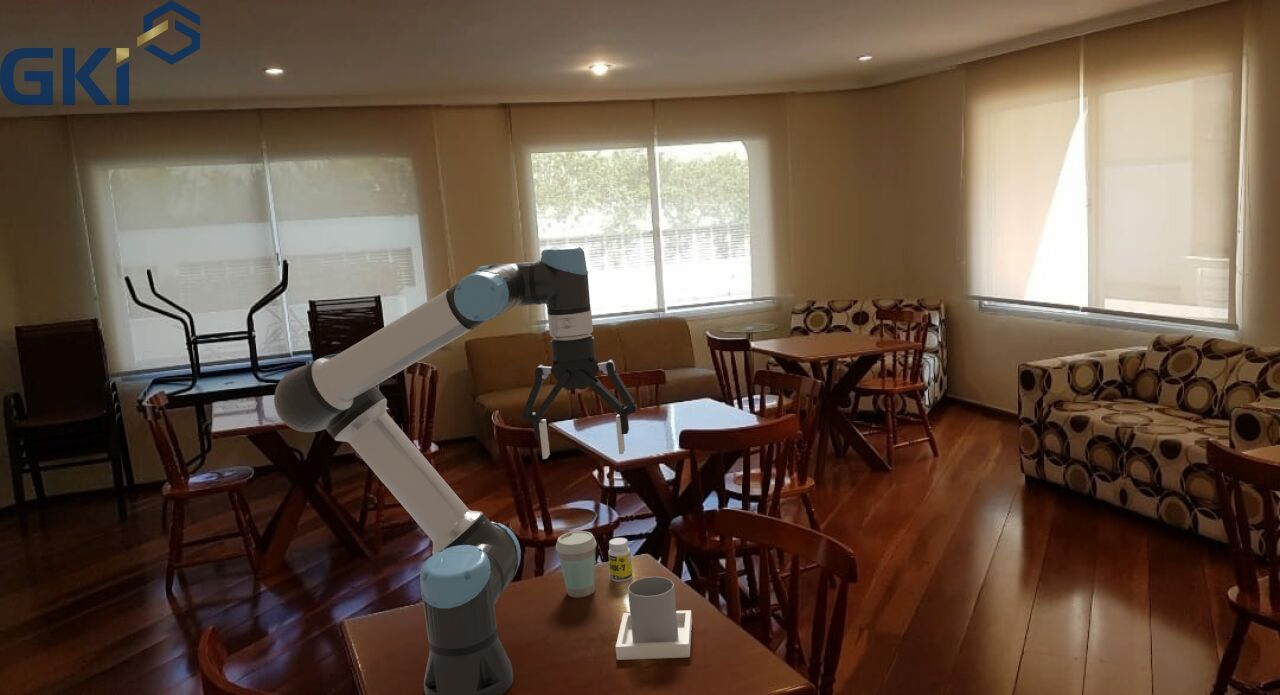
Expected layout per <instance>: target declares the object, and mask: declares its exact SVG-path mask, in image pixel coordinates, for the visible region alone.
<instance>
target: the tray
mask: <svg viewBox="0 0 1280 695" xmlns="http://www.w3.org/2000/svg"><path fill="white" fill-rule="evenodd" d="M676 615H677V626H678V638H677V640H676V641H675V642H657V643H634V641H633V638H632V627H631V617H630V612H623V613H622V618H621V622H620V625H619V631H618V635H617V638H616V640H617V641H616V643H615V652H616V660H617V661H619V660H620V661H623V660H649V659H650V660H651V659H652V660H653V659H676V658H677V659H679V658H690V657H691V645H692V632H691V631H692V629H693V617H692V610H691V609H688V610H687V609H685V610H676Z"/></svg>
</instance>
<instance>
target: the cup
mask: <svg viewBox="0 0 1280 695" xmlns="http://www.w3.org/2000/svg"><path fill="white" fill-rule="evenodd" d="M627 594H628V596H627V597H628V603H629V613H630V617H631V627H632V638H633V641H634V643H657V642H675V641H676V640H677V638H678V626H677V615H676V611H677V606H676V605H677V604H676V595H675V594H676V593H675V583H674V582H673V581H672V580H671V579H668V578H666V577H664V576H662V577H661V576H649V577H646V576H645V577H643V578H640V579H639V578H638V579H635V580H634V581H633V582H631V583H629V585H628V587H627Z"/></svg>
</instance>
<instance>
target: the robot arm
mask: <svg viewBox="0 0 1280 695" xmlns="http://www.w3.org/2000/svg"><path fill="white" fill-rule="evenodd" d="M540 255H541V257H540V260H535V261H526V262H525V261H524V262H512V263H511V262H510V263H508V262H507V263H492V264H488V265H481V266H479V267H477V269H476V270H475V271H473V272H472V273H469V274H467V275H466V276H464V277H463V278H462V279H460V280H459V282H458V283H456V284H454V285H453V286H452V287H450V288H449V289H446V290H445V291H443V292H441V293H439V294H437V295H436V296H435V297H432V298H431V299H430V300H427V301H426V302H424V303H422V304H421V305H419V306H418V307H416V308H413V309H412V310H410V311H409V312H407V313H405V314H404V315H402V316H400V317H399V318H397V319H396V320H394V321H392V322H390V323H389V324H387V325H385V326H384V327H382V328H381V329H378V330H376V331H375V332H373V333H372V334H370V335H369V336H367V337H365V338H363V339H362V340H360V341H358V342H357V343H355V344H353V345H351V346H350V347H349V348H346V349H345V350H343V351H340V353H333V354H328V355H324V356H323V357H321V358H318V359H316V360H314V361H312V362H310V363H307V364H305V365H302V366H299V367H296V368H294V369H292V370H291V371H288V373H286V374H285V375H284V376H283V377H282V378H281V379H280V380H279V382H278V384H277V385H276V388H275V391H274V395H273V397H274V398H273V403H274V409H275V412H276V413H277V416H278V417H279V419H280V420H281V421H282V423H284V424H285V425H286V426H287V427H289V428H291V429H293V430H295V431H297V432H302V433H314V432H321V431H323V430H326V432H328V434H329V435H330V436H331V437H332V439H333V440H335V441H336V442H345V443H346V442H347V443H348V444H349V445H350V446H351V447H352V449H354V451H355V452H356V453H357V454H358V455H359V456H360V458H361V459H362V461H363V462H364V463H365V464H367V466H368V467H369V468H370V469H371V471H372V472H373V473H374V474H375V476H377V478H378V479H379V480H380V481H381V483H382V484H383V485H384V486H385V487H386V489H387V490H389V492H391V494H392V495H393V496H394V497H395V499H396V500H397V501H398V503H400V505H401V506H402V507H403V509H405V510H406V512H407V513H408V514H409V515H410V516H411V517H412V518H413V520H414V521H415V522H416V524H417V525H418V526H419V527H420V528H421V529H422V530H423V531H424V533H425V534H426V535H427V537H428V538H429V539H430V540H431V541H432V555H431V556H430V557H428V558H427V559H426V560H425V562H424V563H423V564H422V567H421V569H420V574H419V578H420V579H419V580H420V581H419V582H420V583H419V584H420V586H419V589H420V590H419V591H420V594H421V597H422V598H421V599H422V606H423V613H424V620H425V626H426V631H427V632H426V633H427V639H428V646H429V654H428V659H427V664H426V668H425V673H424V674H425V675H424V679H423V689H424V695H504V694H505V693H506V692H508V690H509V689H510V688H511V686H512V685H513V682H514V674H513V672H514V671H513V666H512V663H511V660H510V658H509V657H508V654H507V652H506V650H505V649H504V646H503V644H502V642H501V641H500V638H499V634H498V626H497V620H496V619H497V618H496V610H495V607H496V606H495V604H496V603H497V601H498V600H499V599H500V597H501V596H502V594H503V592H504V591H505V589H506V588H507V587H508V585H510V583H511V582H512V581H513V579H514V578H515V576H516V574H517V572H518V569H519V567H520V563H521V556H522V551H521V546H520V543H519V540H518V538H517V537H516V535H515V533H514V532H513V531H512V530H511V529H510V528H509V527H508V526H507V525H505V524H504V523H503V524H502V523H500V522H498V523H497V522H494V521H490V519H489V518H488V517H487V516H486V515H485V513H483V511H478V510H470V509H469V508H468V507H467V505H466V504H465V503H464V501H462V499H460V497H459V496H458V495H457V493H455V491H454V490H453V489H452V488H451V487H450V485H449V484H448V483H447V482H446V481H445V479H444V478H443V477H442V476H441V475H440V473H439V472H438V471H437V470H436V469H435V468H434V466H433V465H432V464H431V463H430V461H428V460H427V458H426V457H425V456H424V455H423V454H422V453H421V451H420V450H419V448H417V446H416V445H415V444H414V443H413V442H412V440H410V438H409V437H408V435H406V433H405V432H404V431H403V430H402V429H401V428H400V427H399V425H398V424H397V423H396V422H395V420H393V419H392V417H391V416H390V414H388V412H387V404H388V400H387V398H386V397H385V396H384V395H383V393H382V392H381V391H380V385H379V384H381V383H383V382H384V381H386V380H387V379H388V380H389V378H391V377H393V376H394V375H396V374H398V373H400V372H401V371H403V370H404V369H405V370H406V368H408V367H411V365H414V364H416V363H417V362H419V361H420V360H422V359H424V358H425V357H427V356H429V355H431V354H432V353H434V352H436V351H437V350H440V349H441V348H443V347H444V346H446V345H448V344H450V343H451V342H453V341H454V340H456V339H458V338H460V337H461V336H464V335H465V334H467V333H468V332H470V331H472V330H474V329H476V328H478V327H479V326H481V325H483V324H485V323H487V322H488V321H489V320H492V319H494V318H495V317H497V316H499V315H500V314H502V313H504V312H507V311H508V310H509V311H510V310H511V309H513V308H517V307H524V306H525V307H526V306H537V305H538V306H539V305H546V308H547V309H546V311H547V312H546V313H547V319H548V331H549V336H550V337H552V339H551V340H550V348H551V357H552V366H545V365H543V364H539V365H538V366H537V367H536V368H535V370H534V371H535V372H534V373H535V374H534V376H535V377H534V383H533V386H532V388H531V391H530V393H529V396H528V397H527V398H528V399H527V401H526V404H525V407H524V409H523V410H522V411H523V412H522V414H521V418H522V420H524V421H526V420H527V421H530V422H532V424H533V425H532V426H533V433H534V439H535V440H536V441H537V440H538V441H539V440H540V446H541V455H542V460H546V459H548V458H549V456H550V455H551V453H550V452H551V451H550V442H549V434H548V433H549V432H548V427H547V419H546V418H545V419H544V418H543V419H542V417H543V416H544V414H545V413H546V412H547V410H548V409H549V408H550V406H552V405H551V404H552V403H553V402H554V400H555V399H556V398H557V396H558V395H559V393H560V392H561V390H562V389H565V390H567V391H574V390H586V389H587V388H590V389H591V390H592V391H594V392H596V394H597V395H598V396H599V397H600V398H601V399H602V400H603V401H605V402H606V404H607V405H608V406H610V408H612V409H613V410H614V411H615V413H617V415H616V417H615V426H616V435H617V446H618V455H624V452H625V451H626V448H625V437H624V435H628V434H629V430H630V425H629V424H630V423H629V415H630V414H632V413H633V414H635V413H636V411H637V409H638V404H637V402H636V401H635V399H634V398H633V396H632V394H631V392H630V390H629V389H628V388H627V386H626V385H625V383H624V381H623V380H622V377H620V375H619V374H618V372H617V368H616V363H615V361H614V360H613V359H609V360H607V361H603V362H598V360H597V357H596V356H597V355H596V348H595V347H596V346H595V337H594V336H593V335H592V333H594V328H593V327H594V326H593V316H592V309H591V299H590V286H589V276H588V275H589V271H588V267H587V262H586V255H585V251H584V249H583V248H582V247H580V246H576V245H573V246H571V245H570V246H559V247H551V248H545V249H543V250H542V251H541V254H540ZM599 371H602V372H603V374H604V375H607V376H608V379H609V380H610V382H611V384H612V385H613V386H614V388H615V390H616V392H617V393H618V395H619V396H620V399H621V400H622V401H623V403H624V404H623V403H622V402H621V401H620V400H619V399H618V398H617V397H616V396H615V395H614V394H613V393H612V392H611V391H610V390H609V389H608V388H607V387H606V386H605V385H604V384H603V383H602V382H601V381H600V379H599V378H598V377H596V376H597V374H598V373H599ZM549 374H550V375H552V377H553V378H554V379H555V380H556V381H557V382H556V384H555V385H554V387H553V388H552V390H551V391H550V393H549V394H548V395H547V396H546V397H545V399H544V401H543V402H542V403H541V405H540V407H539V408H537V411H536V412H534V411H533V410H534V408H535V405H536V402H537V399H538V398H539V395H540V392H541V389H542V388H543V384H544V381H545V380H546V379H547V378H548V377H549Z"/></svg>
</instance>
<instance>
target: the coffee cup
mask: <svg viewBox="0 0 1280 695" xmlns="http://www.w3.org/2000/svg"><path fill="white" fill-rule="evenodd" d="M597 544H598V543H597V541H596V539H595V537H594V535H593V534H592V532H589V531H585V530H576V531H575V530H574V531H569V532H566V533H564V534H562V535H560V536H558V538H557V541H556V544H555V551H556V552H557V554H558V559H559V563H560V567H561V571H562V572H561V573H562V577H563V579H564V581H563V582H564V585H565V588H566V592H567V593H566V594H567V595H568V596H570V598H571V597H572V598H585V597H587V596H590V595H592V594H593V593H594V592H595V589H596V587H595V586H596V547H597Z"/></svg>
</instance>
